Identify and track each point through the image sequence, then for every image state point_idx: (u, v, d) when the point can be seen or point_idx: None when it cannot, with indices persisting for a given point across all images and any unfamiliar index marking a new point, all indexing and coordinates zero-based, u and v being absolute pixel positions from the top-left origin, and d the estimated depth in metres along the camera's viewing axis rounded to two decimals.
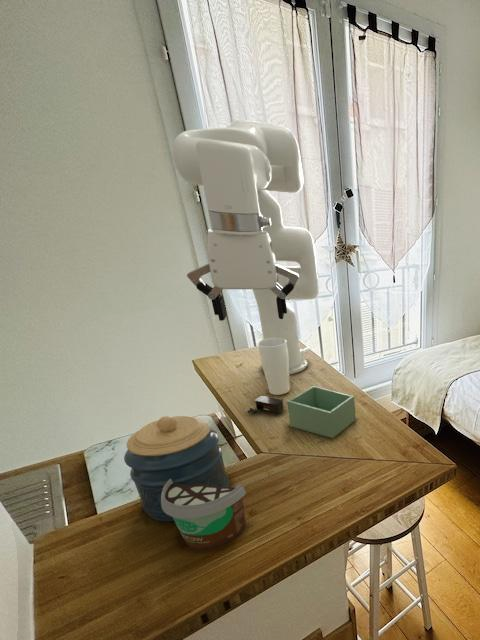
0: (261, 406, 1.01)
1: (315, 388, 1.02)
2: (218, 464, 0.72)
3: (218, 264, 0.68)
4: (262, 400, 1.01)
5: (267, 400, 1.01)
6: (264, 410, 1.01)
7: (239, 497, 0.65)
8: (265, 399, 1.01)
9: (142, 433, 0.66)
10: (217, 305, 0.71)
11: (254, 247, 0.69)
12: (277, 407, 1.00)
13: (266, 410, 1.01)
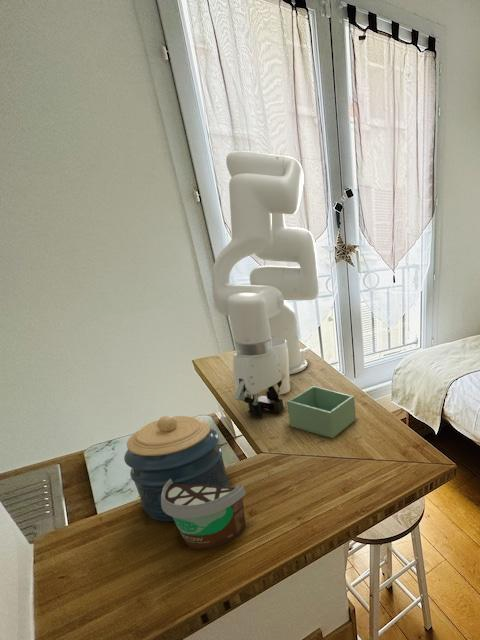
0: (261, 406, 1.01)
1: (315, 388, 1.02)
2: (218, 464, 0.72)
3: (254, 378, 0.93)
4: (262, 400, 1.01)
5: (267, 400, 1.01)
6: (264, 410, 1.01)
7: (239, 497, 0.65)
8: (265, 399, 1.01)
9: (142, 433, 0.66)
10: (259, 407, 0.98)
11: (272, 358, 0.97)
12: (277, 407, 1.00)
13: (266, 410, 1.01)
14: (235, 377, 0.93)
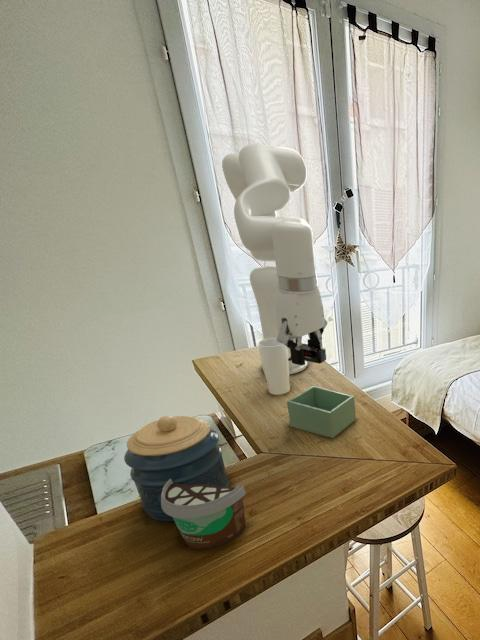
0: None
1: (315, 388, 1.02)
2: (218, 464, 0.72)
3: (298, 318, 0.85)
4: (304, 347, 0.92)
5: (309, 347, 0.92)
6: (306, 358, 0.92)
7: (239, 497, 0.65)
8: (307, 346, 0.92)
9: (142, 433, 0.66)
10: (302, 353, 0.89)
11: (316, 298, 0.88)
12: (320, 355, 0.91)
13: (308, 358, 0.92)
14: (277, 317, 0.84)
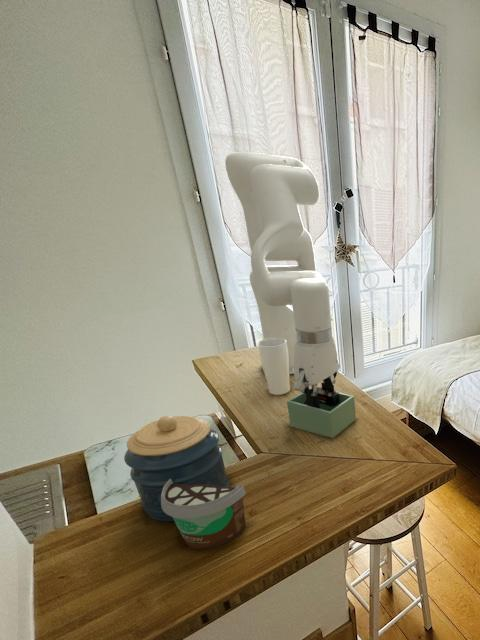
0: None
1: None
2: (218, 464, 0.72)
3: (315, 368, 0.89)
4: (318, 391, 0.97)
5: (323, 391, 0.97)
6: (320, 402, 0.97)
7: (239, 497, 0.65)
8: (321, 390, 0.97)
9: (142, 433, 0.66)
10: (317, 399, 0.94)
11: (331, 347, 0.93)
12: (334, 399, 0.96)
13: (322, 402, 0.97)
14: (295, 367, 0.89)
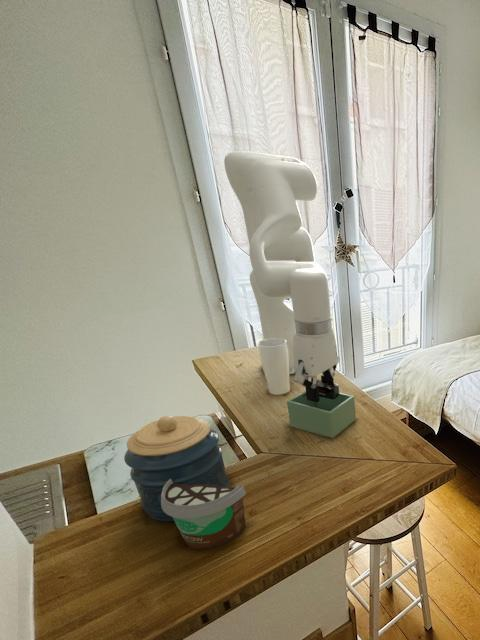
0: None
1: None
2: (218, 464, 0.72)
3: (314, 359, 0.88)
4: (318, 384, 0.96)
5: (323, 384, 0.96)
6: (320, 395, 0.96)
7: (239, 497, 0.65)
8: (321, 383, 0.96)
9: (142, 433, 0.66)
10: (317, 391, 0.93)
11: (330, 339, 0.92)
12: (333, 392, 0.95)
13: (322, 395, 0.96)
14: (294, 358, 0.88)
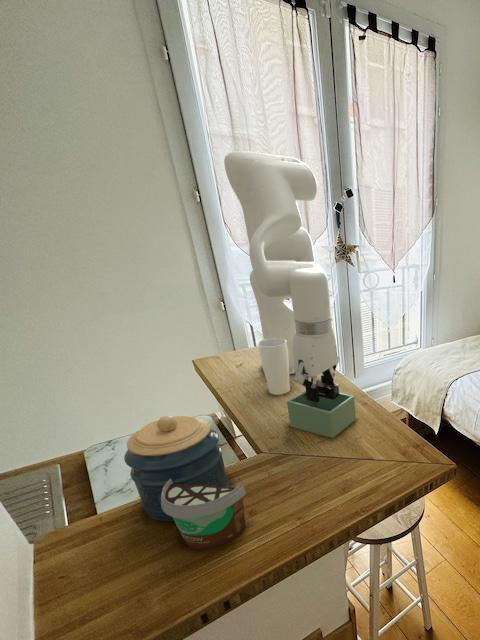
0: None
1: None
2: (218, 464, 0.72)
3: (314, 359, 0.88)
4: (318, 384, 0.96)
5: (323, 384, 0.96)
6: (320, 395, 0.96)
7: (239, 497, 0.65)
8: (321, 383, 0.96)
9: (142, 433, 0.66)
10: (317, 391, 0.93)
11: (330, 339, 0.92)
12: (333, 392, 0.95)
13: (322, 395, 0.96)
14: (294, 358, 0.88)
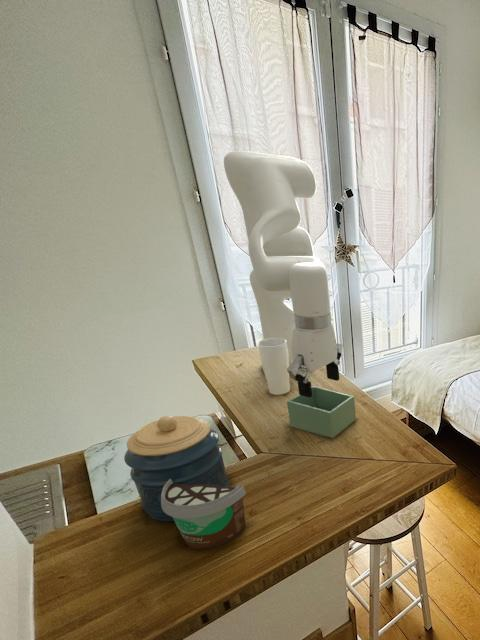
0: None
1: (315, 388, 1.02)
2: (218, 464, 0.72)
3: (313, 354, 0.88)
4: None
5: None
6: None
7: (239, 497, 0.65)
8: None
9: (142, 433, 0.66)
10: (310, 386, 0.90)
11: (330, 334, 0.92)
12: None
13: None
14: (293, 353, 0.87)
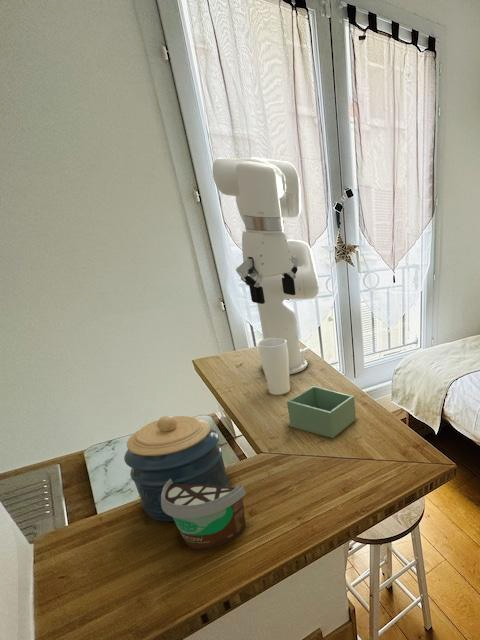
0: None
1: (315, 388, 1.02)
2: (218, 464, 0.72)
3: (264, 258, 0.89)
4: None
5: None
6: None
7: (239, 497, 0.65)
8: None
9: (142, 433, 0.66)
10: (261, 291, 0.91)
11: (282, 241, 0.93)
12: None
13: None
14: (244, 256, 0.88)
